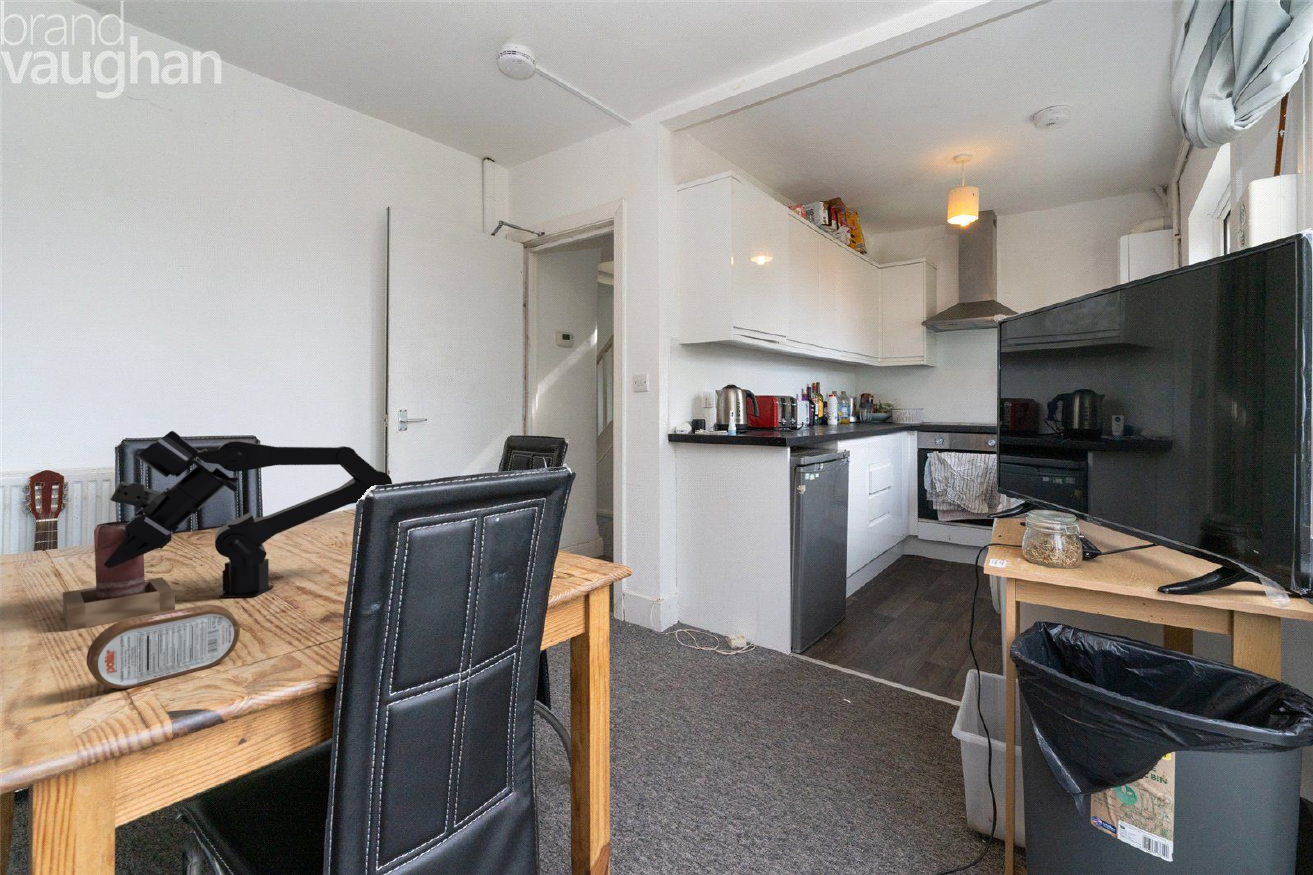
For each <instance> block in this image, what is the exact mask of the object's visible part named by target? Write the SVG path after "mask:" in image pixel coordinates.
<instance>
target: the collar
mask: <svg viewBox="0 0 1313 875" xmlns="http://www.w3.org/2000/svg"><path fill="white" fill-rule="evenodd" d="M175 593H176V592H175V590H174V588H172V586H171V585H170V584H169V583H168V582H167V581H166V580H165V579H164V578H163V577H155V578H150V579H149V578H148V579H145V593H144V594H138V595H131V596H125V597H119V598H113V599H107V600H101V601H97V596H96V586H95V587H89V588H83V589H82V588H81V589H76V590H70V591H63V592H62V612H63V617H64V621H65V625H66V630H67V632H69V631H75V630H78V629H85V628H89V627H90V628H91V627H96V626H102V625H106V624H112V623H113V624H114V623H117V622H120V621H122V620H125V619H128V618H133V617H138V616H144V615H149V614H155V613H161V612H167V611H172V610H176V602H175V601H176V597H175V596H176V594H175Z"/></svg>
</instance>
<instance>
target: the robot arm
mask: <svg viewBox="0 0 1313 875" xmlns="http://www.w3.org/2000/svg"><path fill="white" fill-rule="evenodd" d="M135 457H136V458H137V459H138V460H140V461H141V462H142V463H144V464H145V465H147V466H149V467H150V468H151V469H153V470H154V471H156V472H157V473H159V474H160V475H161V476H163V477H164V478H168V477H169V476H170V475H171V476H173V477H176V478H178V477H180V476H181V475H182V474H184V472H186V471H187V470H188V469H189V468H191V466H193V465H196V466H195V467H194V468H193V469H192V470H191V471H190V472H188V473H187V474H186V475H184V477H182V478H181V479H179V481H177V482H176V483H175V484H174V485H173V486H171V487H166V489H164V490H163V491H158V490H155V489H151V488H149V487H146V486H145V484H142V483H141V484H140V483H138V482H136V481H134V482H132V483H131V482H127V481H121V482H119V484H118V485H117V487H116V489H115V490H114V492H113V494H112V496H111V497H110V502H111V501H112V502H114V503H118V504H121V503H123V504H126V505H129V506H134V507H138V508H141V509H139V510H138V511H137V512H135V516H133V517H131V519H130V520H129V521H130V522H129V523H128V524H127V525H126V526H125V532H126V538H125V539H124V541H123V542H122V543H121V544H120V545H119V547H118V548H117V549H116V550H115V551H114V553H113V554H112V555H111V556H110V557H109V559H108V560H107V561H106V562H105V563H104V566H106V567H107V568H111V567H114V566H117V565H119V564H121V563H124V562H126V561H128V560H131V559H133V558H136V557H138V556H140V555H143V554H144V555H145V554H148V553H149V552H153V551H154V550H158V549H160V550H162V549H163V548H164V547H166V546H167V545H168V544H169V543H171V541H172V540H173V533H175V532H176V531H177V530H178V529H179V528H180V526H181V525H182V524H184V523H185V522H186V521H187V520H188V519H190V517H192V516H193V515H196V514H197V512H199V511H200V509H201V508H202V507H203V506H204V505H205V504H206V503H207V502H209V500H211V499H213V497H214V496H216V495H217V494H218V493H219V492H221V490H223V489H224V488H225V487H226V488H228V489H229V490H230V491H231V492H234V493H235V492H237V491H238V487H237V486H238V484H237V483H238V480H239V477H238V476H235V475H234V476H229V475H228V474H227V473H225V472H224V471H222V470H221V469H220V468H218V467H215V468H213V469H212V470H211V469H209V468H208V467H207V466H205V465H204V464H202V463H201V462H200V461H198V460H197V459H196V458H198V459H200V460H201V461H203V463H206V464H211V465H212V464H213V465H219V466H221V468H223V469H224V470H226V471H228V472H234V473H235V472H236V473H238V472H243V471H244V472H245V471H251V470H258V469H262V468H267V467H268V468H269V467H273V466H274V467H275V466H333V465H334V466H335V465H336V466H340V467H341V468H342V469H343V470H345V471H346V472H347V473H348V474H349V475H350V477H351V478H350V480H348V481H347V482H345V483H344V484H343V485H341V486H339V487H337V488H335V489H332V490H330V491H327V492H325V493H322V494H319V495H317V496H314V497H312V498H309V499H307V500H305V501H302V502H299V503H296V504H294V505H291V506H289V507H287V508H284V509H281V510H278V511H276V512H274V513H271V514H268V515H263V516H260V517H255V518H254V516H253V514H252V512H248V513H246V514H243V515H242V516H240V517H238V518H235V519H228V520H226V524H225V525H223V526H221V527H220V528H219V529H218V530H217V531H216V533H215V537H214V547H215V551H217V553H218V554H219V555H221V556H222V557H225V558H228V560H229V561H227V562H224V569H223V570H222V592H223V593H220V594H218V597H219V598H252V597H253V598H254V597H257V596H260V595H261V594H263V593H265V592H267V591H270V590H271V589H273V588H274V587H275V585H274V584H270V583H269V582H270V581H269V577H270V576H269V573H270V572H269V571H270V570H269V567H270V566H269V565H270V564H269V561H270V560H269V558H266V557H267V551H266V549H265V546H264V544H265V543H266V542H267V541H269V540H270V539H271V538H273V537H274V536H276V535H278V534H279V533H282V532H285V531H287V530H289V529H292V528H295V527H298V526H300V525H302V524H305V523H306V522H310V521H312V520H315V519H317V518H319V517H322V516H324V515H326V514H330V513H332V512H334V511H336V510H338V509H340V508H343V507H345V506H349V505H353V504H358V503H357V501H358V499H360V498H361V497H362V495H364V493H365V492H366V490H367V489H369V488H370V487H371V486H374V485H385V484H392V485H393V480H392V478H391V476H390V475H388V474H387V472H384V471H380V470H377V469H375V468H374V467H373V466H372V465H371V464H370V463H368V462H367V461H366V460H365V459H364V458H362V457H361V456H360V455H359V454H358V453H357V452H356V450H355V449H354V448H352V447H350V446H344V445H342V446H335V447H334V446H325V447H324V446H274V445H267V444H260V443H254V442H249V441H244V440H243V441H242V440H229V441H227V442H224V443H223V444H221V445H220V446H219V447H217V448H211V449H210V448H209V449H206V448H204V449H202V450H199V449H197V448H195V447H194V446H193V445H191V444H190V443H189V442H187V441H186V440H185V439H183V438H182V436H181V435H179V434H178V433H177V432H175V431H174V430H171V431H169V432H168V433H166V434H165V435H164V436H162V437H161V438H159V440H157V441H155V442H152V443H151V444H149V445H148V447H146V448H144V449H143V450H142V451H141V452H140V453H139V454H137V455H136V456H135Z"/></svg>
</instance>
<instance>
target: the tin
mask: <svg viewBox="0 0 1313 875" xmlns="http://www.w3.org/2000/svg"><path fill="white" fill-rule="evenodd" d="M240 634H241V629H240V624H239V621H238V620H237V619H236V617H235V615H234V614H233V613H232V612H231V611H230V610H229V609H227V608H226V607H224V606H222V605H219V604H218V605H217V604H200V605H194V606H189V607H183V608H178V609H175V610H172V611H167V612H161V613H155V614H149V615H144V616H138V617H133V618H128V619H125V620H122V621H118V622H114V623H113V624H112V625H110V626H108V627H107V628H106V629H104V630H102V631H101V632H100V633H99V634H98V635H97V637H95V639H94V640H93V641H92V643H91V644H90V646H89V648H88V651H87V653H86V654H87V655H86V667H87V669H88V671H89V673H91V675H92V676H93V678H94V679H95V681H97V682H98V683H99V684H101V685H104V686H106V687H108V688H113V689H120V690H121V689H132V688H137V687H140V686H144V685H148V684H152V683H155V682H159V681H163V680H169V679H171V678H176V677H179V676H183V675H188V674H191V673H195V672H198V671H203V670H206V669H210V668H212V667H214V666H216V665H218V664H220V663H221V662H223V661H224V660H225V659H226V658H227V657H228V656H229V655H230V654H232V653H233V651H234V650H235V648H236V646H237V645H238V642H239V638H240Z"/></svg>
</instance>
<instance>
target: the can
mask: <svg viewBox="0 0 1313 875" xmlns="http://www.w3.org/2000/svg"><path fill="white" fill-rule="evenodd" d="M130 521H131V520H121V521H120V520H119V521H118V520H117V521H112V522H104V523H100V524H97V525H96V527H95V529H94V532H93V536H94V561H95V562H94V564H95V587H96V596H97V601H101V600H107V599H113V598H119V597H125V596H131V595H138V594H144V593H145V580H146V579H145V558H144V557H145V554H143V555H140V556H138V557H136V558H133V559H131V560H128V561H126V562H124V563H121V564H119V565H117V566H114V567H111V568H107V567H106V566H104V563H105V562H106V561H107V560H108V559H109V557H110V556H111V555H112V554H113V553H114V551H115V550H116V549H117V548H118V547H119V545H120V544H121V543H122V542H123V541H124V539H125V538H126V532H125V526H126V525H127V524H128V523H129V522H130Z"/></svg>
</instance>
